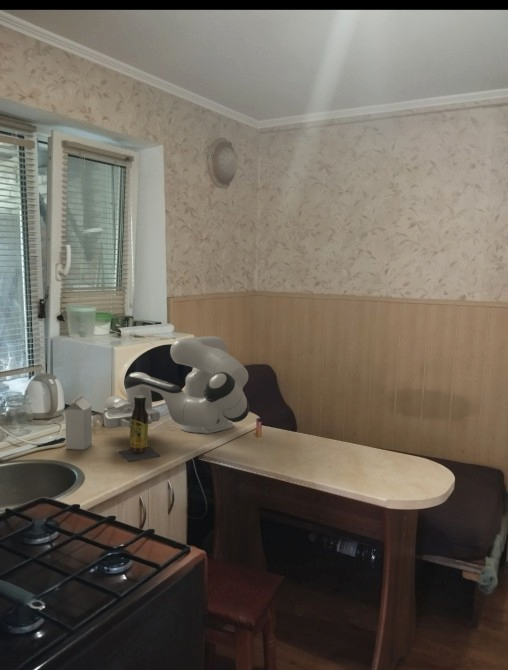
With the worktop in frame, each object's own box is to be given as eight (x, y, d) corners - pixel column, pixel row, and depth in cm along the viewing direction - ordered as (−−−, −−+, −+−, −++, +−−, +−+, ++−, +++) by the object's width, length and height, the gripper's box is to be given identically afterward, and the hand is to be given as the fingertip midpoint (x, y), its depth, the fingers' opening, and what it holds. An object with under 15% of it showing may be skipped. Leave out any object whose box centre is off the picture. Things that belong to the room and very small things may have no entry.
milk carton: (92, 444, 208) (91, 395, 205) (84, 450, 201) (83, 399, 198) (74, 443, 208) (73, 394, 206) (65, 449, 201) (65, 398, 199)
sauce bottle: (126, 450, 197) (125, 396, 194) (138, 445, 202) (138, 393, 199) (139, 454, 193) (139, 399, 190) (151, 449, 198) (151, 395, 196)
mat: (148, 447, 205) (148, 446, 205) (160, 456, 196) (160, 454, 196) (117, 452, 199) (117, 451, 199) (128, 462, 190) (128, 460, 190)
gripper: (151, 418, 213) (166, 427, 202) (99, 425, 202) (112, 436, 190) (151, 402, 212) (166, 410, 201) (99, 409, 201) (112, 418, 190)
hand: (139, 423), depth 195 cm, fingers closed on sauce bottle, 6 cm apart
